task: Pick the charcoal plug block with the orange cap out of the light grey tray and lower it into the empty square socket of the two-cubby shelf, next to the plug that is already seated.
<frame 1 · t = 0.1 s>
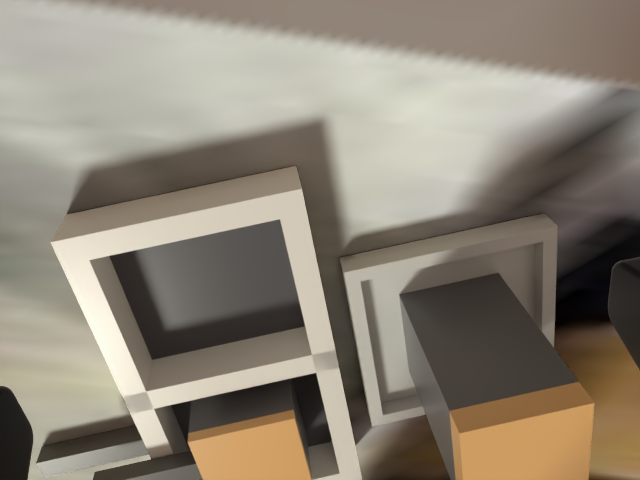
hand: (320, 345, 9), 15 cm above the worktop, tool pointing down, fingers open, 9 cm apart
two-cubby shelf: (232, 348, 27), on the worktop
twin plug: (251, 407, 29), resting in two-cubby shelf
plug: (451, 323, 27), resting on tray
tray: (449, 318, 28), on the worktop
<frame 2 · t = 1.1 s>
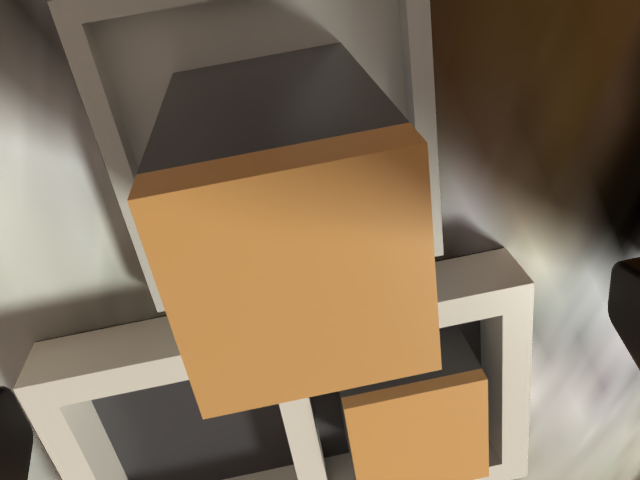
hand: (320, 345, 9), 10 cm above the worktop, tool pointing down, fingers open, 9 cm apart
two-cubby shelf: (296, 392, 22), on the worktop
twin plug: (394, 372, 22), resting in two-cubby shelf
plug: (273, 137, 17), resting on tray
tray: (272, 133, 17), on the worktop
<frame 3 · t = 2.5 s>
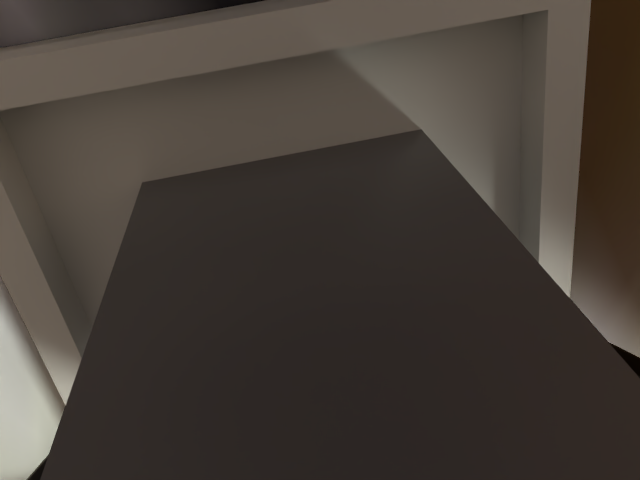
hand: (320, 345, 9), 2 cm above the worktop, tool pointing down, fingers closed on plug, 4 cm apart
plug: (305, 273, 11), resting on tray, touching gripper
tray: (303, 262, 11), on the worktop
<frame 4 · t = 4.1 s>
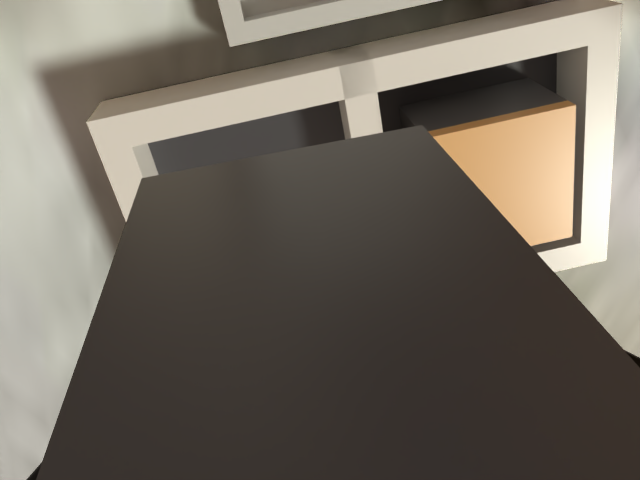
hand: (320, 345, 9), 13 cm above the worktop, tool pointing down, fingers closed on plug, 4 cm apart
two-cubby shelf: (364, 173, 21), on the worktop
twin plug: (466, 151, 21), resting in two-cubby shelf
plug: (306, 270, 10), point 11 cm above the worktop, touching gripper
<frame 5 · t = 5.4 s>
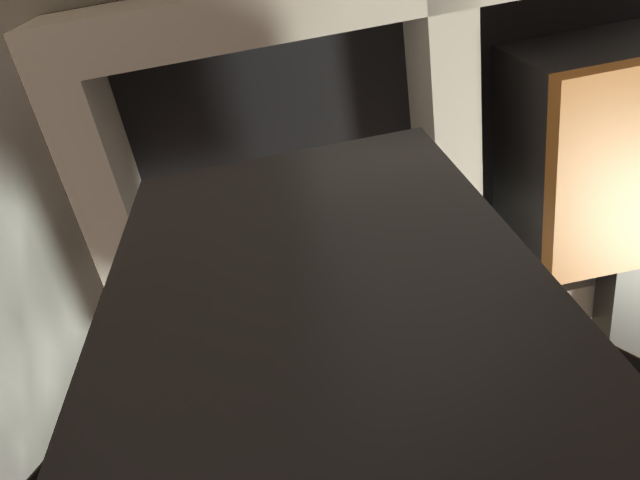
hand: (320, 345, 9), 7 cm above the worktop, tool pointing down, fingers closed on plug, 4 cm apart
two-cubby shelf: (430, 147, 15), on the worktop
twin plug: (576, 119, 15), resting in two-cubby shelf
plug: (305, 271, 10), point 5 cm above the worktop, touching gripper
when the fingers open (4 cm above the worktop, at t = 6.2 s): plug drops 2 cm, resting on two-cubby shelf.
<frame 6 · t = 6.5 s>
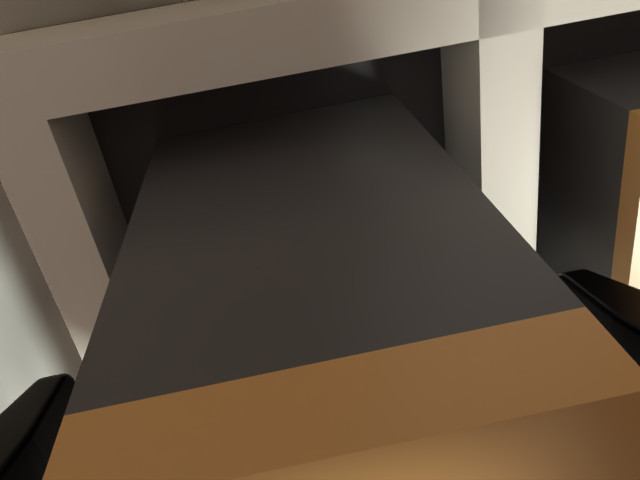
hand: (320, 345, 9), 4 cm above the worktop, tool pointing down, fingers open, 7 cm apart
two-cubby shelf: (467, 185, 13), on the worktop
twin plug: (637, 152, 13), resting in two-cubby shelf
plug: (297, 221, 12), resting on two-cubby shelf
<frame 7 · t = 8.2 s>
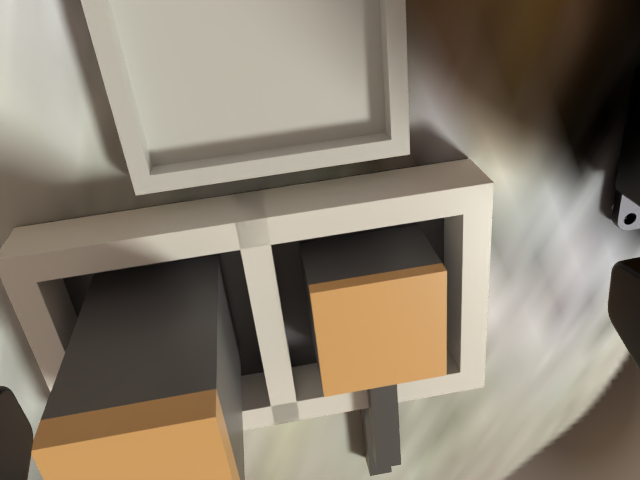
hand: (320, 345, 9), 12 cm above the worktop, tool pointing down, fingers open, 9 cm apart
two-cubby shelf: (267, 297, 23), on the worktop
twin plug: (361, 281, 23), resting in two-cubby shelf
plug: (170, 314, 22), resting on two-cubby shelf
tray: (251, 24, 18), on the worktop
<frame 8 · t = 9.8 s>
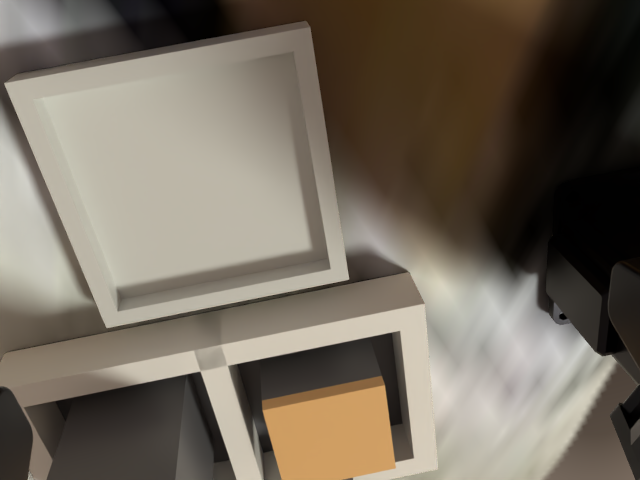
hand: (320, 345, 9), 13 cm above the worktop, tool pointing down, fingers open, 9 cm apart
two-cubby shelf: (235, 395, 25), on the worktop
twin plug: (320, 378, 26), resting in two-cubby shelf
plug: (148, 415, 25), resting on two-cubby shelf
tray: (199, 179, 21), on the worktop
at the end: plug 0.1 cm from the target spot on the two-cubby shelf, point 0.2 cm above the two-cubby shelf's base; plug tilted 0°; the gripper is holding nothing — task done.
